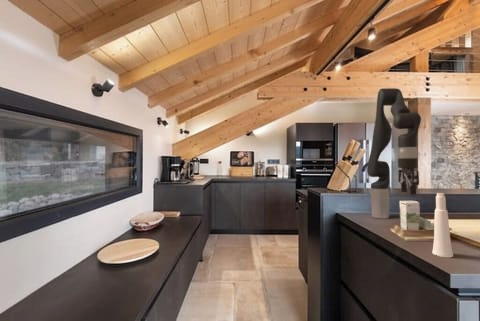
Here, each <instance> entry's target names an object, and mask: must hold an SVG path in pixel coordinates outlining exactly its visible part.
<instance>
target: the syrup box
mask: <svg viewBox="0 0 480 321" xmlns="http://www.w3.org/2000/svg"><path fill="white" fill-rule="evenodd" d="M420 209H421V207H420V202H419V201H416V200H399V223H400V224H399V225H400V227H401V228H402V229H404V230H420V217H421V216H420V214H421V213H420V212H421V211H420Z"/></svg>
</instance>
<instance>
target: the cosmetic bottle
mask: <svg viewBox="0 0 480 321" xmlns="http://www.w3.org/2000/svg"><path fill="white" fill-rule="evenodd" d="M446 201H447V200H446V196H445V193H441V192H437V193H436V196H435V209H434V218H433V219H434V222H433V223H434V241H433V245H432V246H433V247H432V251H431V253H432V254H433V255H435V256H436V255H437V257H440V258H452V257H454V252H453V248H452V243H451V242H452V240H451V241H450V239H451V234H450V233H451V232H450V230H449V227H450V223H449V212H448V210H447V203H446Z"/></svg>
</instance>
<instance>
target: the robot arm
mask: <svg viewBox="0 0 480 321" xmlns="http://www.w3.org/2000/svg"><path fill="white" fill-rule="evenodd" d="M385 106H389V107H390V114H391V115H392V117H393V120H392V124H393V127H394V128H395V129H397V130H407V129H409V132H407V133H406V132H405V133H402V134H400V135H399V136H398V137H397V167H398V170H397V171H398V174H397V175H398V178H397V180H398V183H400V192H401V193H408V185H409V195H412V196H416V195H417V186H420V177H419V176H420V174H419V173H420V172H419V171H418V170H415V169H417V168H418V167H419V164H418V162H419V161H418V159H419V158H418V157H419V156H418V148H417V145H418V143H417V139H418V138H417V137H418V132H419V128H420V126H421V122H422V117H421V115H420V114H419V113H418V112H411V110H410V108H409V107H408V106H407V105H406V102H405V99H404V96H403V93H402V91H401V89H399V88H393V87H392V88H391V87H389V88H380V89H379V91H378V93H377V98H376V110H375V111H376V112H375V120H374V126H373V133H372V141H371V147H370V154H369V158H368V161H367V162H368V163H367V167H366V168H367V169H366V172H367V175H368V177H370V178H378V179H377V180H376V181H374V182H372V183H371V184H370V194H371V196H370V198H371V200H370V201H371V217H372V218H376V219H389V218H390V198H389V196H390V195H389V194H390V193H389V184H390V166H389V164H388V162H387V161H383V160H382V161H379V158H380V156H381V154H382V153H383V151H384V150H386V148H387V147H388V146H389V143H390V142H391V139H392V132H393V129H392V126H391V124H390V122H389V120H388V119H387V116H386V114H385V108H384V107H385ZM407 184H408V185H407Z"/></svg>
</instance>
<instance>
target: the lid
mask: <svg viewBox="0 0 480 321" xmlns="http://www.w3.org/2000/svg"><path fill="white" fill-rule="evenodd" d="M431 221H432V220H428V219H426V218H425V217H424V218H423V217H422V216H420V227H422V228H424V229H426V230H434V222H431ZM449 231H453V228H451V227H450V226H449Z"/></svg>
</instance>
